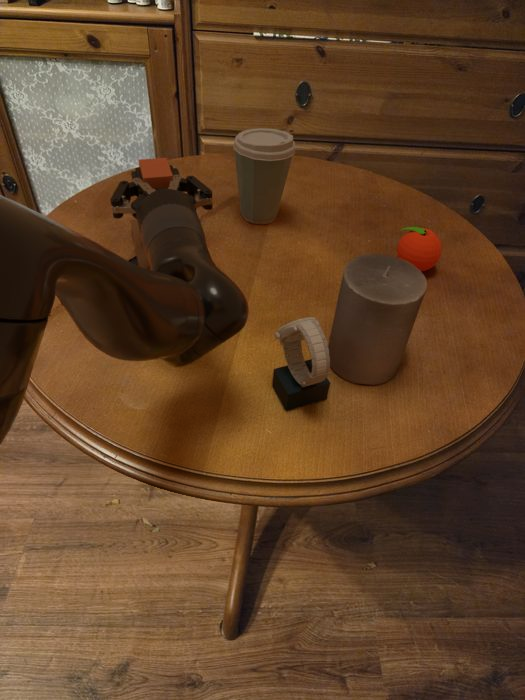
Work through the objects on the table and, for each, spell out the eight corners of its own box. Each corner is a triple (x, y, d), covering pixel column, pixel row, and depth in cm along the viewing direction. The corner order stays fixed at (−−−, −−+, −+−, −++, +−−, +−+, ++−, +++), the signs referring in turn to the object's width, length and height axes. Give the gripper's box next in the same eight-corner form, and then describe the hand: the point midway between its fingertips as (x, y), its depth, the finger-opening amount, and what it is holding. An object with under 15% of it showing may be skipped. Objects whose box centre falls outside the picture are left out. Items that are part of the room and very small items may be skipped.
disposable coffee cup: (219, 212, 92) (219, 130, 82) (263, 196, 98) (268, 117, 87) (256, 237, 87) (261, 152, 76) (300, 218, 92) (310, 137, 82)
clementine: (379, 267, 82) (389, 229, 77) (397, 249, 87) (407, 212, 82) (424, 285, 79) (438, 247, 74) (440, 266, 83) (454, 229, 78)
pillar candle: (357, 326, 71) (380, 234, 61) (413, 364, 66) (448, 272, 56) (310, 355, 67) (326, 262, 56) (366, 399, 62) (395, 305, 51)
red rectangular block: (178, 239, 75) (172, 175, 68) (151, 242, 74) (143, 178, 67) (172, 219, 79) (166, 157, 72) (146, 222, 78) (138, 159, 71)
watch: (304, 364, 65) (315, 299, 58) (333, 410, 60) (349, 344, 52) (265, 375, 64) (271, 309, 56) (291, 422, 58) (301, 357, 51)
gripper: (228, 199, 60) (201, 143, 72) (107, 211, 57) (99, 150, 68) (228, 252, 65) (202, 192, 77) (117, 265, 62) (108, 200, 74)
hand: (154, 172), depth 73 cm, fingers closed on red rectangular block, 4 cm apart
